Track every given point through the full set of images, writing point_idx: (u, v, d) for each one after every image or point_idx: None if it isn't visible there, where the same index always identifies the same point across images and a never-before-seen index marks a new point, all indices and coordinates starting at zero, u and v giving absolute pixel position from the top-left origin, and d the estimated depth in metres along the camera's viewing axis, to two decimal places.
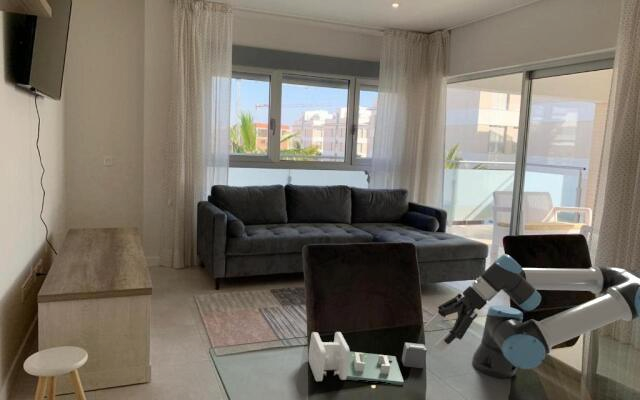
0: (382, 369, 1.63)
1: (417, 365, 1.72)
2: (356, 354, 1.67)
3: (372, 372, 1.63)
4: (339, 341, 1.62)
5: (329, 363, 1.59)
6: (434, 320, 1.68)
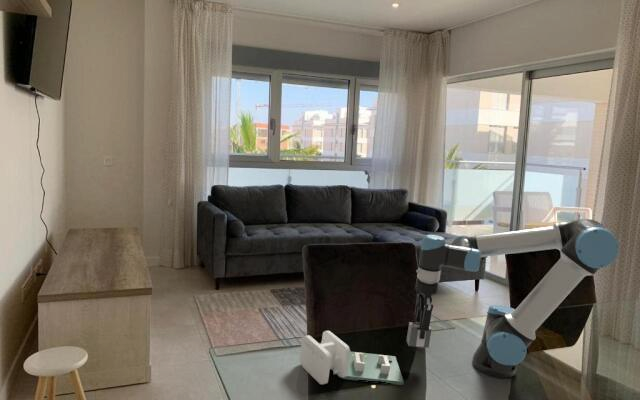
0: (382, 369, 1.63)
1: None
2: (356, 354, 1.67)
3: (372, 372, 1.63)
4: (333, 340, 1.62)
5: None
6: None
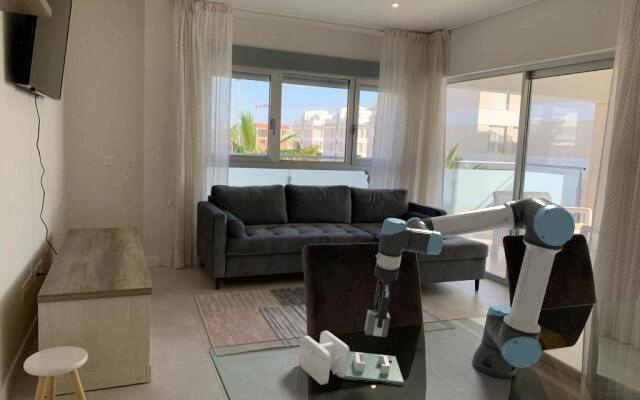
0: (382, 369, 1.63)
1: None
2: (356, 354, 1.67)
3: (372, 372, 1.63)
4: (332, 340, 1.62)
5: None
6: None
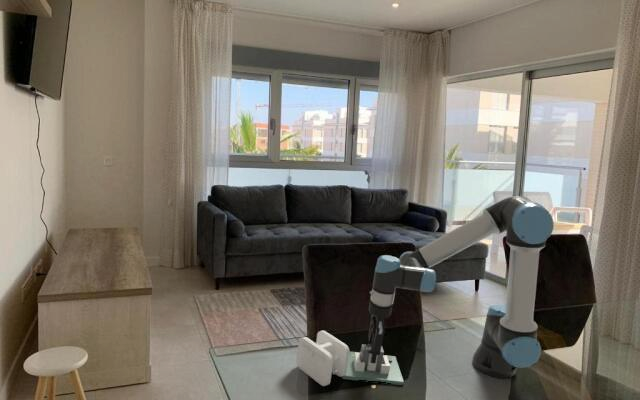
0: (382, 369, 1.63)
1: None
2: (356, 354, 1.67)
3: (372, 372, 1.63)
4: (330, 340, 1.62)
5: None
6: None
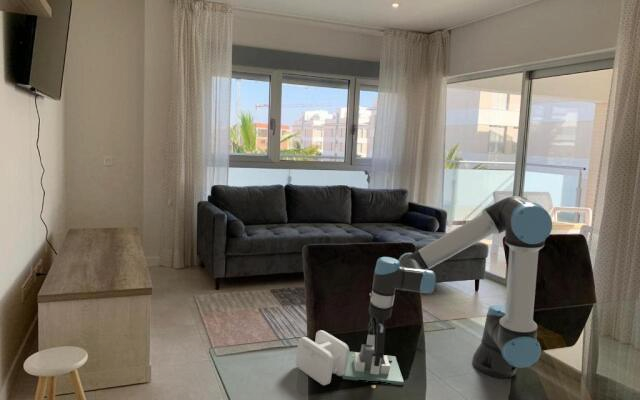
0: (382, 369, 1.63)
1: None
2: (356, 354, 1.67)
3: None
4: (329, 339, 1.62)
5: None
6: (369, 342, 1.71)
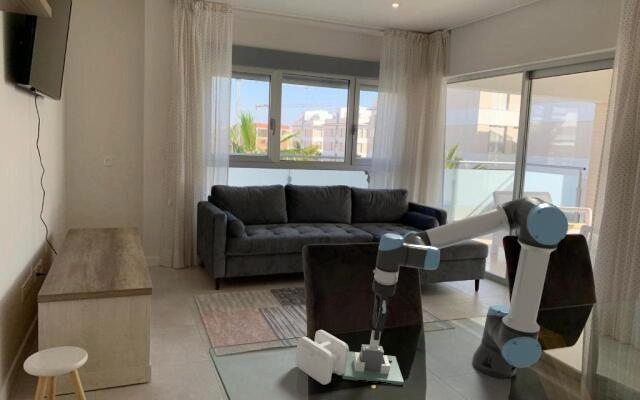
0: (382, 369, 1.63)
1: (374, 368, 1.64)
2: (356, 354, 1.67)
3: (372, 372, 1.63)
4: (329, 339, 1.62)
5: None
6: None
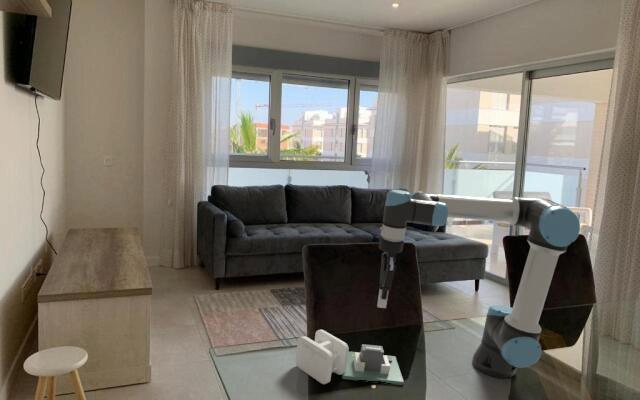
0: (382, 369, 1.63)
1: (374, 368, 1.64)
2: (356, 354, 1.67)
3: (372, 372, 1.63)
4: (329, 338, 1.63)
5: None
6: None
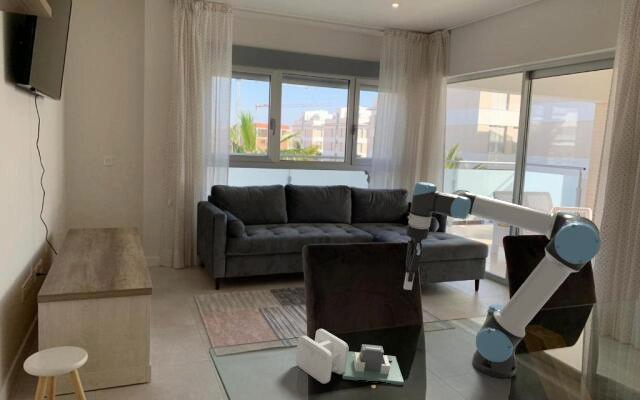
0: (382, 369, 1.63)
1: (374, 368, 1.64)
2: (356, 354, 1.67)
3: (372, 372, 1.63)
4: (329, 338, 1.63)
5: None
6: (407, 278, 1.77)
